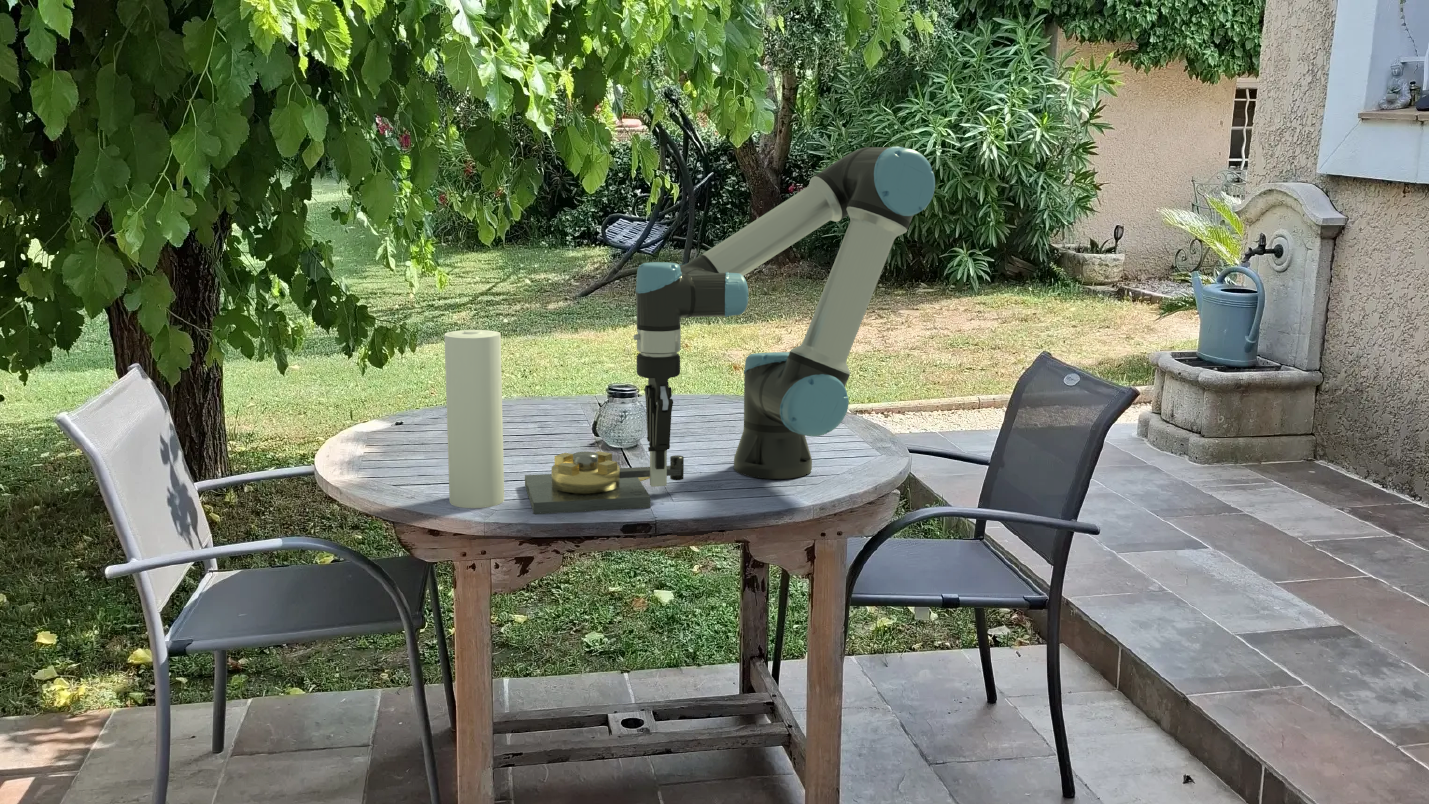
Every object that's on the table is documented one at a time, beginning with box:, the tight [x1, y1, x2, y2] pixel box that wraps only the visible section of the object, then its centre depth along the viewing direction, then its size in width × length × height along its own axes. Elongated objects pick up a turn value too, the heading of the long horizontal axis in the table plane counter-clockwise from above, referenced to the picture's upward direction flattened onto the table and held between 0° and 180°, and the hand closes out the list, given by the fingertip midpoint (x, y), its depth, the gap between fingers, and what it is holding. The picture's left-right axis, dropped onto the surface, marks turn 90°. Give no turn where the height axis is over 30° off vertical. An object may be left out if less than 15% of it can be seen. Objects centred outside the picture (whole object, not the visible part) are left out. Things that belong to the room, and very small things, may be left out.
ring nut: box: [551, 450, 685, 493], centre depth 218 cm, size 24×12×5 cm, turn 103°
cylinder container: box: [444, 329, 505, 509], centre depth 211 cm, size 9×9×30 cm
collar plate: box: [524, 473, 651, 515], centre depth 219 cm, size 24×21×2 cm
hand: (658, 485), depth 215 cm, fingers closed
